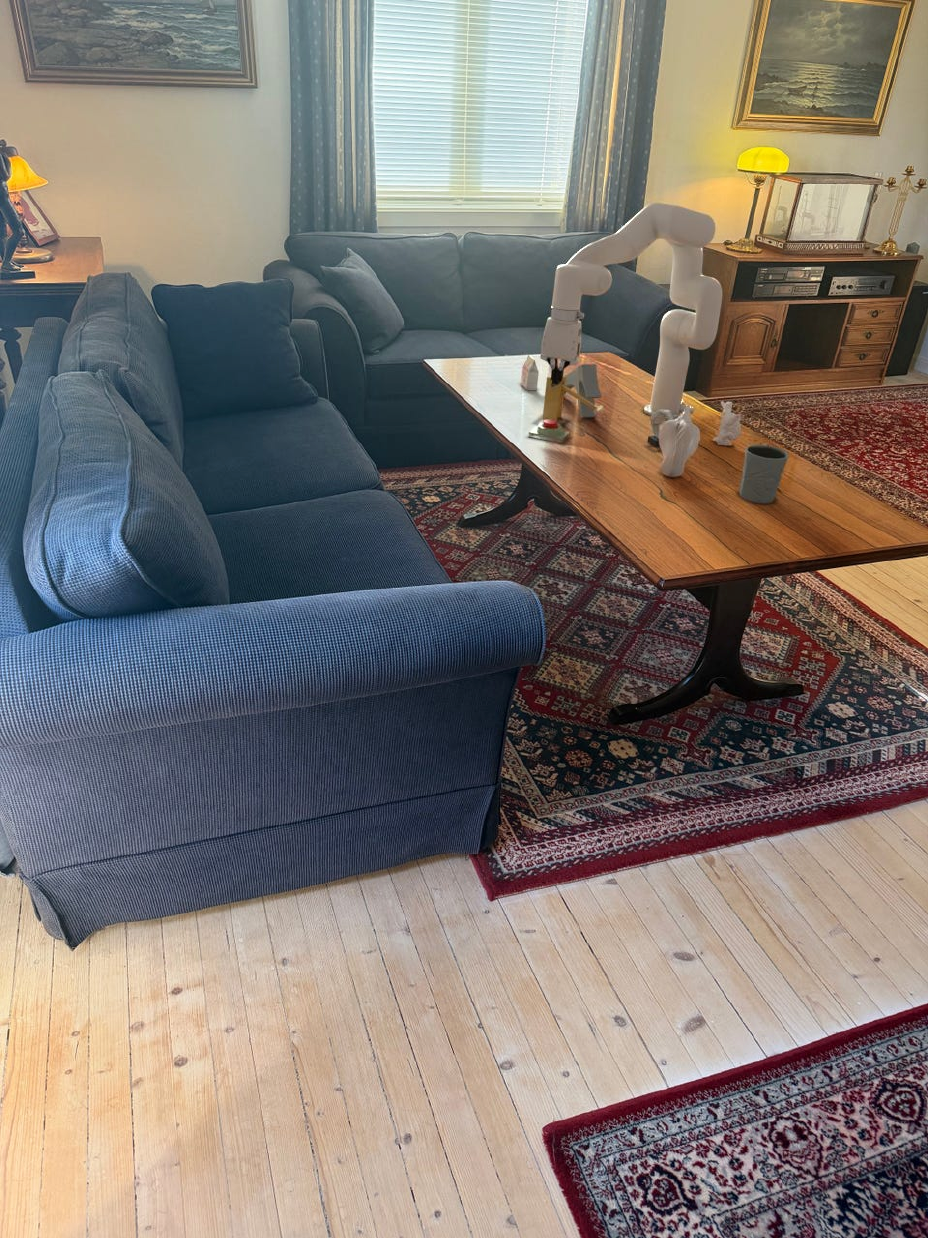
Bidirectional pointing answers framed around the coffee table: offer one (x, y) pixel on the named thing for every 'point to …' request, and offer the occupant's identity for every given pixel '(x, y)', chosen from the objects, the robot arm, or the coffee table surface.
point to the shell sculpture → (678, 443)
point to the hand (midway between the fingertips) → (556, 383)
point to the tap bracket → (553, 400)
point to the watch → (656, 421)
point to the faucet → (584, 387)
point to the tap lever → (582, 399)
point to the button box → (549, 433)
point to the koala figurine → (728, 426)
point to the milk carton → (529, 374)
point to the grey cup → (762, 473)
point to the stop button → (550, 424)
